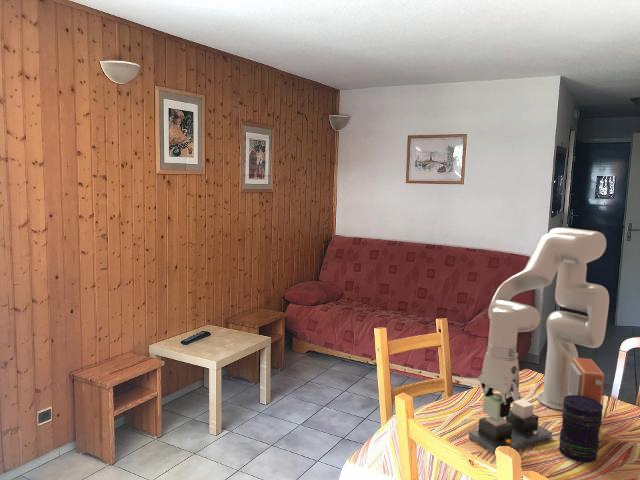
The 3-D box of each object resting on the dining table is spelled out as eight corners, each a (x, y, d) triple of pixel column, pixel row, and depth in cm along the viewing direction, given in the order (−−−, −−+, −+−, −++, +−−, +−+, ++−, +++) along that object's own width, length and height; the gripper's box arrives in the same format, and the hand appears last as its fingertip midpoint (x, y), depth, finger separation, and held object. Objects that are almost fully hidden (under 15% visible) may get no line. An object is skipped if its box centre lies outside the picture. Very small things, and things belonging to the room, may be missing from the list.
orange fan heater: (585, 423, 166) (600, 447, 151) (561, 420, 167) (574, 444, 153) (592, 357, 163) (608, 376, 148) (568, 355, 164) (581, 373, 150)
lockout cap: (495, 408, 155) (497, 390, 154) (509, 415, 151) (511, 397, 150) (482, 411, 153) (484, 393, 152) (496, 419, 148) (498, 400, 147)
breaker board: (521, 422, 165) (522, 404, 164) (551, 438, 155) (553, 419, 154) (468, 438, 154) (470, 418, 153) (497, 456, 145) (499, 436, 144)
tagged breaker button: (494, 429, 155) (495, 413, 155) (505, 435, 152) (506, 419, 151) (484, 432, 154) (485, 416, 153) (494, 439, 150) (496, 422, 149)
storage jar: (592, 446, 152) (597, 397, 149) (602, 465, 142) (608, 413, 140) (554, 441, 154) (559, 393, 152) (562, 459, 144) (567, 408, 142)
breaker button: (521, 414, 160) (522, 399, 160) (531, 420, 157) (533, 404, 156) (511, 417, 158) (513, 401, 158) (522, 423, 155) (524, 407, 154)
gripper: (535, 359, 144) (529, 422, 146) (488, 339, 158) (483, 397, 161) (516, 363, 140) (510, 427, 143) (469, 343, 155) (465, 402, 157)
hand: (496, 411), depth 152 cm, fingers closed on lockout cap, 5 cm apart
